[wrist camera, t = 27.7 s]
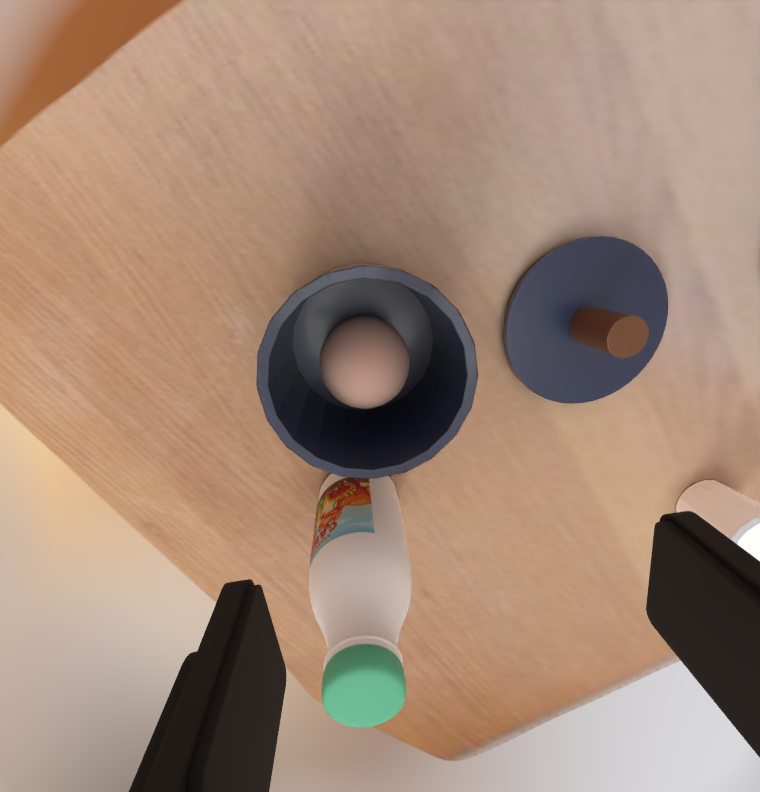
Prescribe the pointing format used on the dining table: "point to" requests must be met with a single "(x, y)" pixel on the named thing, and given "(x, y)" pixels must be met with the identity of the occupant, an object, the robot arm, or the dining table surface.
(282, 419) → the pot
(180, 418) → the dining table surface
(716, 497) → the white cup
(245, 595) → the robot arm
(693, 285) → the dining table surface
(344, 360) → the egg
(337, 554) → the milk bottle
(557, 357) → the lid
